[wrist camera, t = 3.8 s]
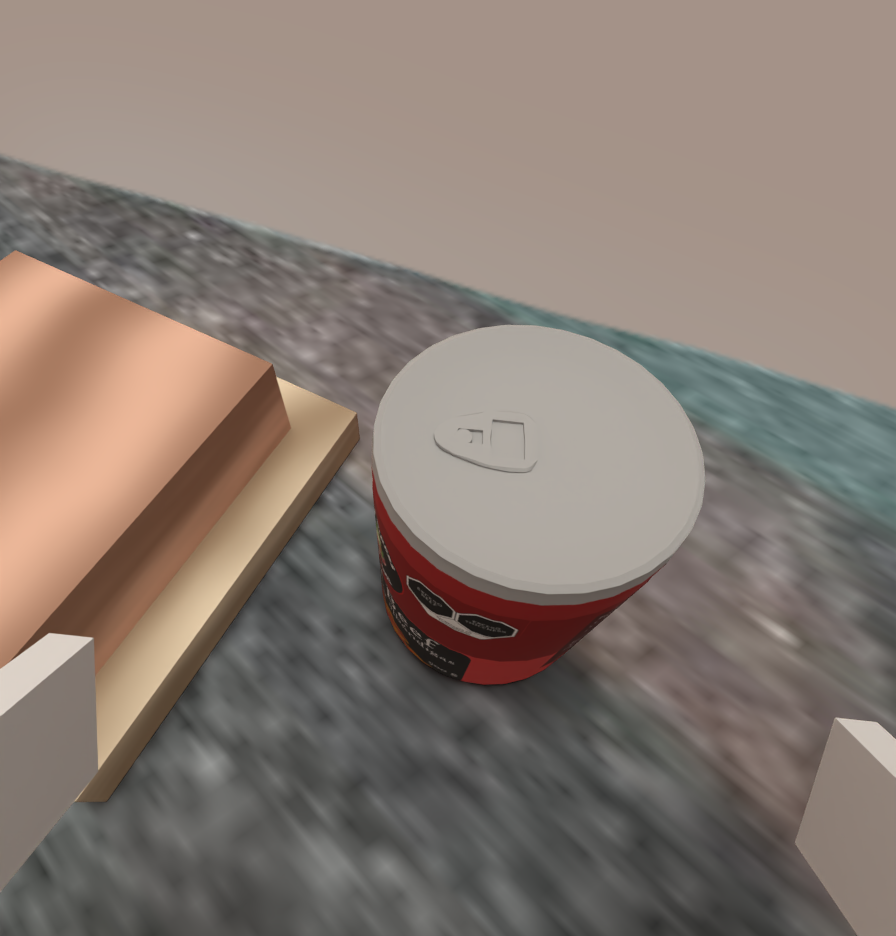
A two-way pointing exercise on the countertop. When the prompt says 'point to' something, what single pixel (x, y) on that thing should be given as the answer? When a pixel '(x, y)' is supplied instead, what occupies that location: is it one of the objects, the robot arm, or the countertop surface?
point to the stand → (141, 490)
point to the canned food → (524, 495)
